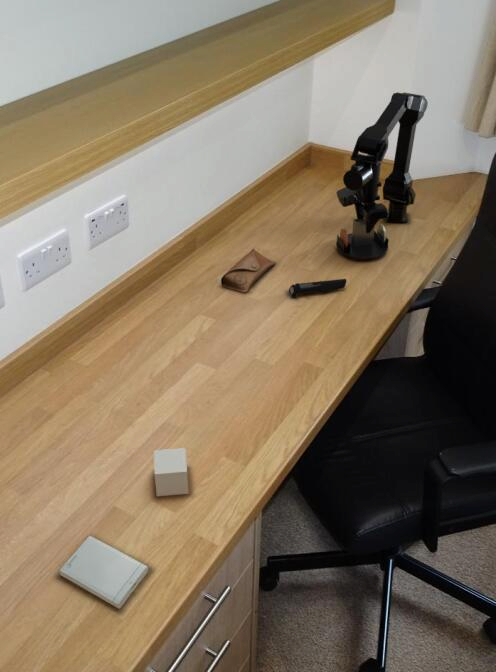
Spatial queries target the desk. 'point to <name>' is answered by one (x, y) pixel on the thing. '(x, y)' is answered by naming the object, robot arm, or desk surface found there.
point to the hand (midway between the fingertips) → (363, 227)
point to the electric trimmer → (316, 287)
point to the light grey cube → (170, 472)
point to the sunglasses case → (246, 271)
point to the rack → (363, 241)
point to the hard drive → (104, 571)
